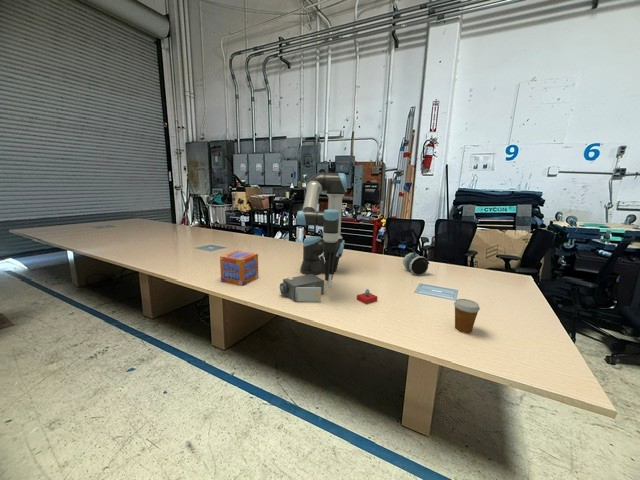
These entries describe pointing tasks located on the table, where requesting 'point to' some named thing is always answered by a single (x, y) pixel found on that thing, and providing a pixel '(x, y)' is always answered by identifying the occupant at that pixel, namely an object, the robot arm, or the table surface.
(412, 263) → the gadget
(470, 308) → the disposable coffee cup
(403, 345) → the table surface
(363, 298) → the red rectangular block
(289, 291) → the camera body
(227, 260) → the game box
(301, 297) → the side door
